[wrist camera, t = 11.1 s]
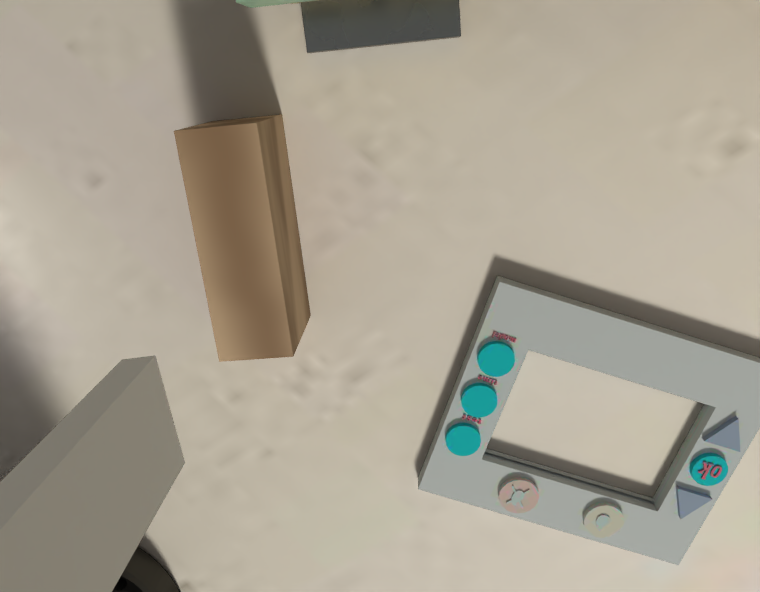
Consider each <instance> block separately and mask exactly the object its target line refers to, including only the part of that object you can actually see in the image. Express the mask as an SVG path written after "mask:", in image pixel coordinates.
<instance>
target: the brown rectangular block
mask: <svg viewBox="0 0 760 592" xmlns="http://www.w3.org/2000/svg"><path fill="white" fill-rule="evenodd" d="M174 134H175V139H176V144H177V149H178V154H179V160H180V165H181V170H182V175H183V180H184V185H185V190H186V195H187V200H188V205H189V210H190V215H191V220H192V225H193V230H194V236H195V241H196V246H197V251H198V256H199V261H200V266H201V271H202V276H203V281H204V286H205V291H206V296H207V301H208V307H209V312H210V317H211V322H212V327H213V332H214V337H215V342H216V347H217V352H218V357H219V362H221V361H235V360H250V359H264V358H279V357H293V356H294V353H295V351H296V349H297V346H298V344H299V342H300V339H301V337H302V335H303V332H304V330H305V328H306V325H307V323H308V321H309V318H310V316H311V315H310V308H309V301H308V294H307V287H306V280H305V273H304V266H303V259H302V252H301V245H300V238H299V231H298V224H297V217H296V210H295V203H294V196H293V189H292V182H291V175H290V168H289V161H288V154H287V147H286V140H285V133H284V126H283V119H282V114H281V115H271V116H261V117H251V118H241V119H231V120H221V121H211V122H208V123H204V124H200V125H196V126H192V127H188V128H184V129H180V130H176V131H174Z"/></svg>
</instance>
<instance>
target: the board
mask: <svg viewBox="0 0 760 592" xmlns="http://www.w3.org/2000/svg"><path fill="white" fill-rule="evenodd" d="M306 1H315V0H236V3H239V4H242V5H244V6H247V7H250V8H254V7H262V6H271V5H280V4H289V3H297V2H306Z"/></svg>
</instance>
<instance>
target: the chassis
mask: <svg viewBox="0 0 760 592" xmlns="http://www.w3.org/2000/svg"><path fill="white" fill-rule="evenodd" d="M297 3H301V7H302V15H303V23H304V31H305V39H306V47H307V53H316V52H325V51H335V50H344V49H353V48H362V47H372V46H381V45H390V44H400V43H409V42H418V41H428V40H437V39H446V38H456V37H460V36H461V28H460V9H459V0H315V1H306V2H297ZM291 4H293V3H291Z"/></svg>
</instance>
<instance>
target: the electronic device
mask: <svg viewBox="0 0 760 592" xmlns="http://www.w3.org/2000/svg"><path fill="white" fill-rule="evenodd" d="M528 350H530V351H534V352H537V353H540V354H543V355H547V356H550V357H553V358H556V359H560V360H563V361H566V362H569V363H573V364H576V365H579V366H582V367H586V368H589V369H592V370H596V371H599V372H602V373H605V374H609V375H612V376H615V377H618V378H622V379H625V380H628V381H631V382H635V383H638V384H641V385H644V386H648V387H651V388H654V389H658V390H661V391H664V392H667V393H671V394H674V395H677V396H680V397H684V398H687V399H690V400H693V401H697V402H700V403H703V404H704V406H703V407H702V409H701V411H700V413H699V415H698V416H697V418H696V420H695V422H694V424H693V426H692V427H691V429H690V431H689V433H688V435H687V437H686V438H685V440H684V442H683V444H682V446H681V447H680V449H679V451H678V453H677V455H676V457H675V458H674V460H673V462H672V464H671V466H670V468H669V469H668V471H667V473H666V475H665V477H664V478H663V480H662V482H661V484H660V486H659V488H658V489H657V491H656V493H655V495H654V497H653V498H651V497H648V496H644V495H641V494H638V493H634V492H631V491H628V490H624V489H621V488H618V487H614V486H611V485H607V484H604V483H601V482H597V481H594V480H591V479H587V478H584V477H581V476H577V475H574V474H571V473H567V472H564V471H561V470H557V469H554V468H550V467H547V466H544V465H540V464H537V463H534V462H530V461H527V460H524V459H520V458H517V457H514V456H510V455H507V454H504V453H500V452H497V451H493V450H490V449H487V445H488V443H489V441H490V438H491V436H492V434H493V431H494V429H495V427H496V424H497V422H498V420H499V417H500V415H501V413H502V410H503V408H504V406H505V403H506V401H507V399H508V396H509V394H510V392H511V389H512V387H513V385H514V382H515V380H516V377H517V375H518V373H519V370H520V368H521V366H522V363H523V361H524V359H525V356H526V354H527V352H528ZM759 428H760V358H759V357H756V356H753V355H750V354H746V353H743V352H740V351H737V350H734V349H730V348H727V347H724V346H721V345H718V344H714V343H711V342H708V341H705V340H702V339H698V338H695V337H692V336H689V335H686V334H683V333H679V332H676V331H673V330H670V329H667V328H663V327H660V326H657V325H654V324H651V323H647V322H644V321H641V320H638V319H635V318H631V317H628V316H625V315H622V314H619V313H615V312H612V311H609V310H606V309H603V308H599V307H596V306H593V305H590V304H587V303H583V302H580V301H577V300H574V299H571V298H567V297H564V296H561V295H558V294H555V293H551V292H548V291H545V290H542V289H539V288H535V287H532V286H529V285H526V284H523V283H519V282H516V281H513V280H510V279H507V278H504V277H500V276H497V277H496V280H495V282H494V285H493V288H492V290H491V293H490V295H489V298H488V300H487V303H486V306H485V308H484V311H483V313H482V316H481V318H480V321H479V323H478V326H477V329H476V331H475V334H474V336H473V339H472V341H471V344H470V346H469V349H468V352H467V354H466V357H465V359H464V362H463V364H462V367H461V370H460V372H459V375H458V377H457V380H456V382H455V385H454V387H453V390H452V393H451V395H450V398H449V400H448V403H447V405H446V408H445V411H444V413H443V416H442V418H441V421H440V423H439V426H438V428H437V431H436V434H435V436H434V439H433V441H432V444H431V446H430V449H429V451H428V454H427V457H426V459H425V462H424V464H423V467H422V469H421V472H420V475H419V477H418V489H419V490H423V491H426V492H429V493H433V494H436V495H440V496H443V497H447V498H450V499H453V500H457V501H460V502H464V503H467V504H471V505H474V506H477V507H481V508H484V509H488V510H491V511H495V512H498V513H501V514H505V515H508V516H512V517H515V518H519V519H522V520H525V521H529V522H532V523H536V524H539V525H543V526H546V527H549V528H553V529H556V530H560V531H563V532H567V533H570V534H573V535H577V536H580V537H584V538H587V539H591V540H594V541H597V542H601V543H604V544H608V545H611V546H615V547H618V548H621V549H625V550H628V551H632V552H635V553H639V554H642V555H645V556H649V557H652V558H656V559H659V560H663V561H666V562H669V563H673V564H676V565H679V563H680V562H681V560H682V558H683V557H684V555H685V553H686V551H687V550H688V548H689V546H690V545H691V543H692V541H693V540H694V538H695V536H696V535H697V533H698V531H699V530H700V528H701V526H702V524H703V523H704V521H705V519H706V518H707V516H708V514H709V513H710V511H711V509H712V508H713V506H714V504H715V503H716V501H717V499H718V497H719V496H720V494H721V492H722V491H723V489H724V487H725V486H726V484H727V482H728V481H729V479H730V477H731V475H732V474H733V472H734V470H735V469H736V467H737V465H738V464H739V462H740V460H741V459H742V457H743V455H744V454H745V452H746V450H747V448H748V447H749V445H750V443H751V442H752V440H753V438H754V437H755V435H756V433H757V432H758V430H759Z"/></svg>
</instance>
